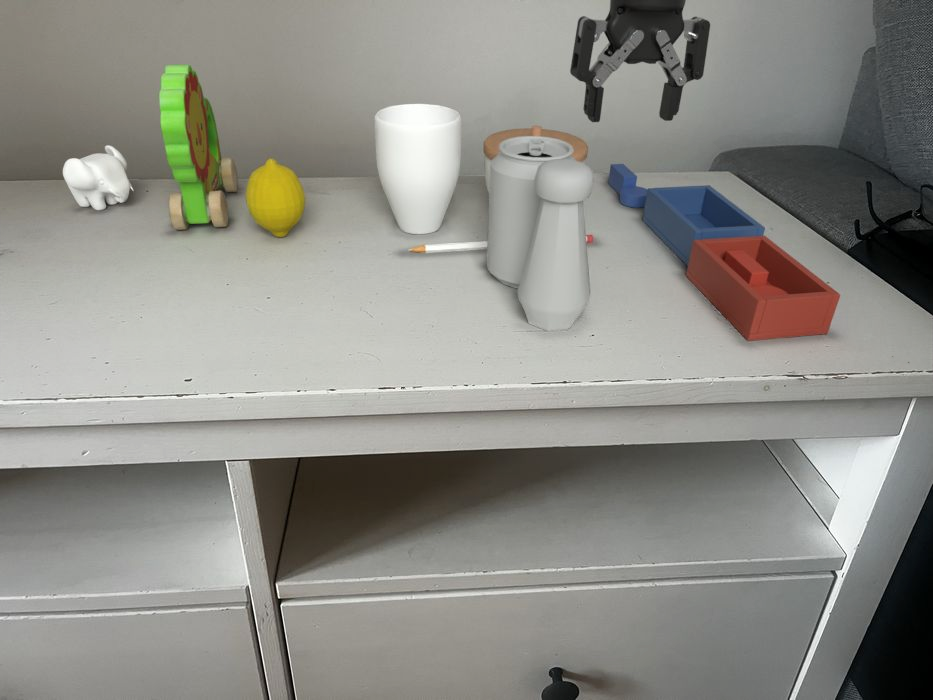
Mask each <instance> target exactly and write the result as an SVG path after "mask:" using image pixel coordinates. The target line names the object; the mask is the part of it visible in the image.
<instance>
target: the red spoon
mask: <svg viewBox="0 0 933 700" xmlns="http://www.w3.org/2000/svg"><path fill="white" fill-rule="evenodd" d="M724 262H725V263H726V264H727V265H728V266H729V267H730V268H732V269H733V270H734V271H735V272H736V273H737V274H738V275H739V276H740V277H741V278H742V279H743V280H745V281H746V282H747V283H748V284H749V285H750V286H751V287H752V288H753V289H754V290H755V291H757V292H758V293H759V294H760V295H761V296H762V297H763V296H775V295H788V293H787V292H785V291H784V290H782V289H780V288H777V287H774V286H770V285H766V281H767V278H768V274H769V272H768V271H767V270H766V269H765V268H763V267H762V266H761V265H760V264H759V263H758V262H756V261H755V260H754V259H753V258H752V257H750V256H749V255H748V254H747V253H746V252H745V251H743V250H733V251H727V252H726V256H725V260H724Z"/></svg>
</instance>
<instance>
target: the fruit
mask: <svg viewBox="0 0 933 700" xmlns="http://www.w3.org/2000/svg"><path fill="white" fill-rule="evenodd" d="M245 202H246V205H247V209H248V212H249V214H250V215H251V217H252V219H253V220H254V221H255V222H256V223H257V224H258V226H260V227H262V228H263V229H265V230H267V231H269V232H270V233H271V234H272V235H273V236H275V237H276V238H284V237H286V236H287V235H288V234H289V232H290V230H291V229H292V228H293V227H295V226H296V225H297V224H298V223H299V221H300V220H301V218H302V216H303V214H304V211H305V208H306V207H305V206H306V194H305V190H304V188H303V185H302V182H301V181H300V179H299V178H298V176H297V174H296V173H295V172H294V171H293V169H290V168H289V167H287V166H285V165H282V164H278V161H277V160H275V159H274V158H272V157H271V156H270V157H269V158H267V160H266V162H265V164H264V165H262V166H259V167H258V168H256V169H255V170H254V171H252V173H251V174H250V176H249V178H248V181H247V184H246V190H245Z"/></svg>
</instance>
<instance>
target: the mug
mask: <svg viewBox="0 0 933 700" xmlns="http://www.w3.org/2000/svg"><path fill="white" fill-rule="evenodd" d="M373 121H374V126H373V127H374V143H375V162H376V170H377V175H378V179H379V182H380V185H381V187H382V190H383V193H384V195H385V197H386V199H387V202H388V204H389V207H390V209H391V211H392V214H393V216H394V219H395V221H396V223H397V226H398V228H399V229H400V230H401V231H402V232H405V233H407V234H410V235H428V234H432V233H434V232H437V231H439V230H440V228H441V227H442V224H443V221H444V218H445V217H446V213H447V211H448V208H449V206H450V203H451V200H452V198H453V196H454V192H455V189H456V187H457V183H458V180H459V176H460V171H461V161H462V160H461V158H462V118H461V114H460V113H459V112H458V111H457V110H455V109H453V108H451V107H448V106H443V105H437V104H431V103H430V104H427V103H406V104H397V105H396V104H395V105H390V106H387V107H384V108H382V109H380V110H378V111H377V112H376V113H375V115H374V120H373Z"/></svg>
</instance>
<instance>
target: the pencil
mask: <svg viewBox="0 0 933 700" xmlns="http://www.w3.org/2000/svg"><path fill="white" fill-rule="evenodd" d="M593 242H594V235H592V234H586V244H589V243H590V244H592V243H593ZM487 245H488V240H483V241H465V242H451V243H450V242H449V243H447V242H446V243H432V244H422V245H419V246H415V247H412V248H408V251H409V252H415V253H422V254H433V253H448V252H449V253H451V252H465V251H480V250H481V251H483V250H487Z"/></svg>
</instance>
